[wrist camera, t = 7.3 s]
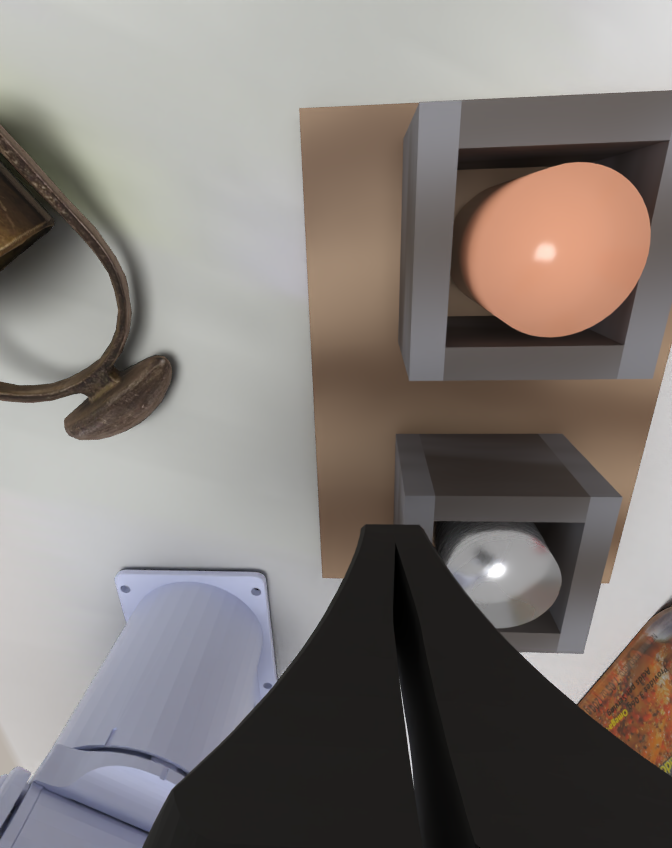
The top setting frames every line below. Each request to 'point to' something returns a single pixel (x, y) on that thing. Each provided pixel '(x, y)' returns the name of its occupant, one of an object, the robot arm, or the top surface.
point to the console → (476, 337)
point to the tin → (639, 693)
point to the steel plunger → (500, 568)
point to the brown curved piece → (103, 384)
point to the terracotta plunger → (552, 248)
